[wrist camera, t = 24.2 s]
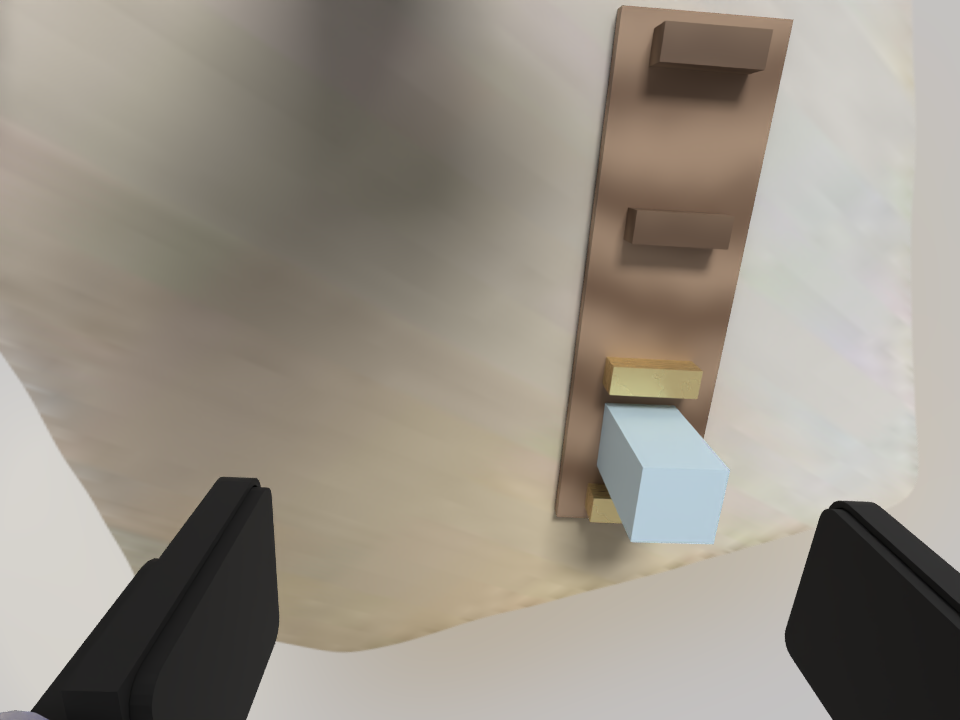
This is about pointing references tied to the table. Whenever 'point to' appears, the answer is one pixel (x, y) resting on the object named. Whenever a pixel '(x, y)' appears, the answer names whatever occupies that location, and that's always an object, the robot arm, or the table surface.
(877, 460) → the table surface
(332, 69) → the table surface
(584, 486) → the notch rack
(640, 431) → the painted block
